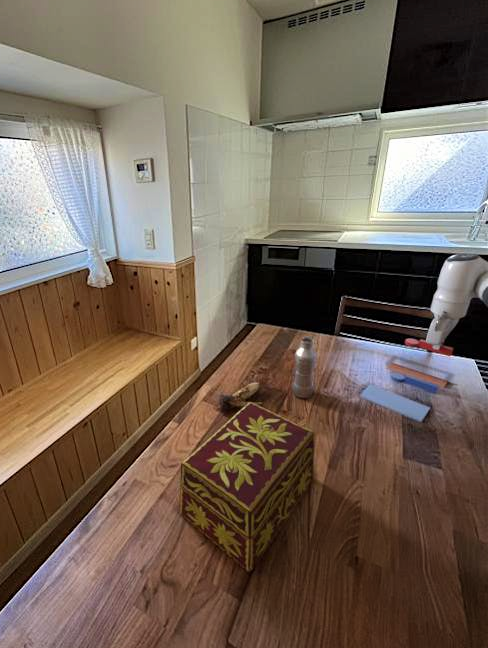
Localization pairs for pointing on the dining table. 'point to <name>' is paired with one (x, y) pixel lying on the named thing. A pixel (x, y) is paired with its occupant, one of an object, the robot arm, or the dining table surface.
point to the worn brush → (238, 398)
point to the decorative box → (247, 481)
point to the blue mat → (395, 403)
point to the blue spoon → (415, 382)
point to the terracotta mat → (417, 374)
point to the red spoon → (429, 346)
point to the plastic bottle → (304, 368)
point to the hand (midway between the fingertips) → (437, 346)
